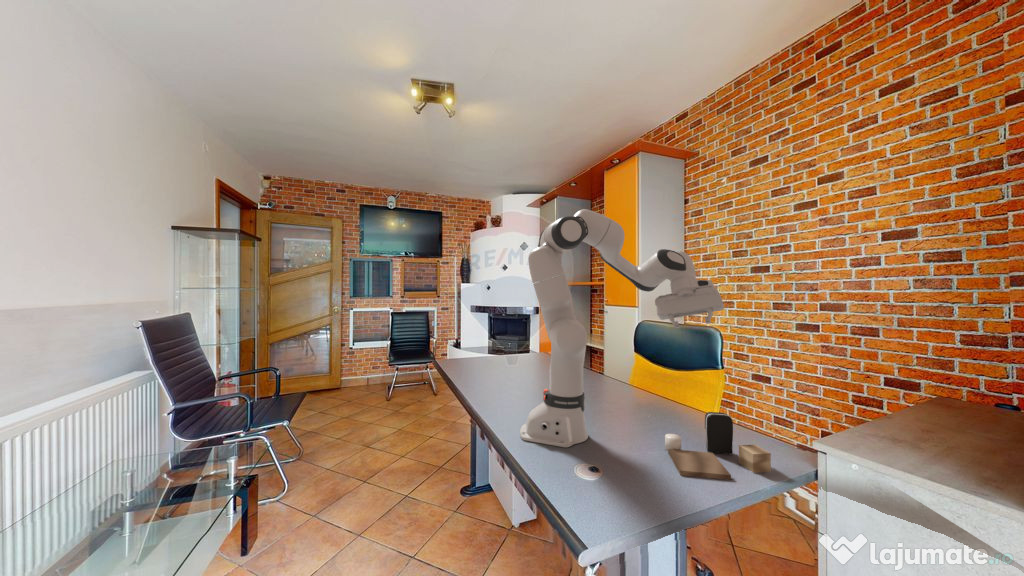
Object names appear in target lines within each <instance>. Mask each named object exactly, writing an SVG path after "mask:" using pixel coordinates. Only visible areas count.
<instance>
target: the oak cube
mask: <svg viewBox="0 0 1024 576" xmlns="http://www.w3.org/2000/svg"><path fill="white" fill-rule="evenodd" d="M771 454H772V453H771V452H769V451H768V450H765V449H764V448H762V447H761V446H759V445H757V444H740V445H738V463H739V464H740V465H741V466H743V467H744V468H745V469H747V470H748V469H749V470H748V471H750V472H751V471H752V472H751V473H753V472H755V473H771V469H772V468H771V467H772V465H771V464H772V463H771V462H772V460H771V459H772V455H771Z"/></svg>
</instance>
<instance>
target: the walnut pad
mask: <svg viewBox="0 0 1024 576" xmlns="http://www.w3.org/2000/svg"><path fill="white" fill-rule="evenodd" d="M667 453H668V456H669V457H670V459H671V461H672V462H673V465H674V467H675V469H676V470H677V471H678V474H679V476H687V477H698V478H709V479H716V480H717V479H718V480H730V481H731V480H732V475H731V473H730V472H729V470H727V469H726V467H725V466H724V464H722V462H721V461H720V460H719V458H718V457H717V456H716V455H715V453H712V452H708V451H698V450H685V449H681V450H674V449H668V451H667Z"/></svg>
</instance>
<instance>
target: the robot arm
mask: <svg viewBox="0 0 1024 576" xmlns="http://www.w3.org/2000/svg"><path fill="white" fill-rule="evenodd" d="M624 242H625V231H624V229H623V226H622V225H621V224H619V222H617V221H615V220H614V219H612V218H610V217H608V216H605V214H602V213H599V212H596V211H595V210H590V209H587V208H583V209H580V210H578V211H577V212H575V213H574V215H573V216H570V215H566V216H562V217H559V218H557V220H555V221H553V222H551V223H549V225H547V226H546V227H545V228H544V229H543V230H542V232H541V233H540V235H539V239H538V245H537V247H535V248H534V249H532V250H531V252H529V254H528V256H527V257H528V258H527V260H528V267H529V274H530V276H531V282H532V286H533V287H534V291H535V294H536V297H537V301H538V304H539V308H540V312H541V316H542V320H543V323H544V326H545V330H546V333H547V336H548V339H549V341H550V343H551V345H550V346H551V347H550V349H551V350H550V351H551V352H550V361H549V362H550V363H549V389H548V388H544V390H543V392H542V394H543V398H542V399H543V402H541V403H540V404H538V405H537V406H536V407H533V409H532V410H530V411H529V414H528V416H527V418H526V422H524V424H522V426H521V427H520V430H519V436H520V439H521V440H523V441H526V442H533V443H538V444H544V445H548V446H549V445H550V446H554V447H561V448H569V447H571V446H573V445H576V444H581V443H583V442H585V441H587V440H588V439H589V433H588V431H587V430H588V429H587V425H586V419H585V408H586V406H585V405H586V397H585V393H584V364H585V359H586V358H585V357H586V352H587V351H586V350H587V344H588V334H587V331H586V328H585V326H584V325H583V324H582V323H580V322H579V321H577V318H576V313H575V309H574V304H573V296H572V292H571V289H570V287H569V286H570V285H569V282H568V280H567V276H566V274H565V273H566V272H565V271H564V267H563V265H562V264H563V263H562V258H563V257H562V256H563V254H566V253H568V252H571V250H573V249H576V248H577V247H578V246H579V245H580V244H581V243H586V244H587V245H589V246H591V247H593V248H595V249H596V250H597V251H598V252H599V254H600V258H601V259H602V261H603V262H604V263H605V264H606V265H608V266H609V267H611V269H612V270H614V271H616V272H618V273H619V274H620V275H621V276H623V277H624V278H626V279H627V280H628V281H629V282H631V283H632V284H633V285H634V286H635V288H637V289H638V290H640V291H642V292H652V291H654V290H656V288H658V286H659V285H661V284H662V283H664V281H666V280H669V281H670V289H671V290H670V291H671V293H668V294H667V293H666V294H663V295H662V294H661V295H659V296H658V297H656V298H655V299H654V305H655V307H656V315H657V317H658V319H660V320H661V321H663V320H669V322H670V323H672V324H673V328H674V329H679V328H680V325H679V324H680V323H679V321H678V320H676V321H675V318H683V317H688V316H689V317H690V316H695V315H701V314H707V315H706V316H704V320H705V324H712V320H711V319H712V318H713V315H714V313H715V312H719V311H723V310H724V308H725V305H724V302H723V299H722V296H721V294H720V291H719V290H718V289H717V288H716V287H715V285H714V283H713V281H712V280H710V279H697V277H696V275H697V274H696V268H695V265H694V263H693V259H692V258H691V256H690V255H689V254H688V253H687V252H685V251H679V250H678V251H677V250H676V251H675V250H671V249H667V248H666V249H665V248H664V249H663V248H662V249H659V250H658V251H656V252H655V253H654V254H652V255H651V256H650V257H649V258H648V259H647V260H646V261H644V262H643V263H642V264H640V265H634V264H633V263H631V262H630V261H629V260H628V259H626V258H625V257H623V256H622V254H621V252H622V249H623V248H624V247H623V246H624Z"/></svg>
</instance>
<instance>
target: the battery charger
mask: <svg viewBox="0 0 1024 576" xmlns="http://www.w3.org/2000/svg"><path fill="white" fill-rule="evenodd" d="M704 429H705V441H706V442H705V443H706V444H705V447H706V448H705V449H706V452H711V453H713V454H719V455H720V454H721V455H733V440H734V439H733V438H734V423H733V418H732V417H731V416H730V415H728V414H727V413H726V412H716V411H708V412H706V413H705V416H704Z"/></svg>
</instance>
